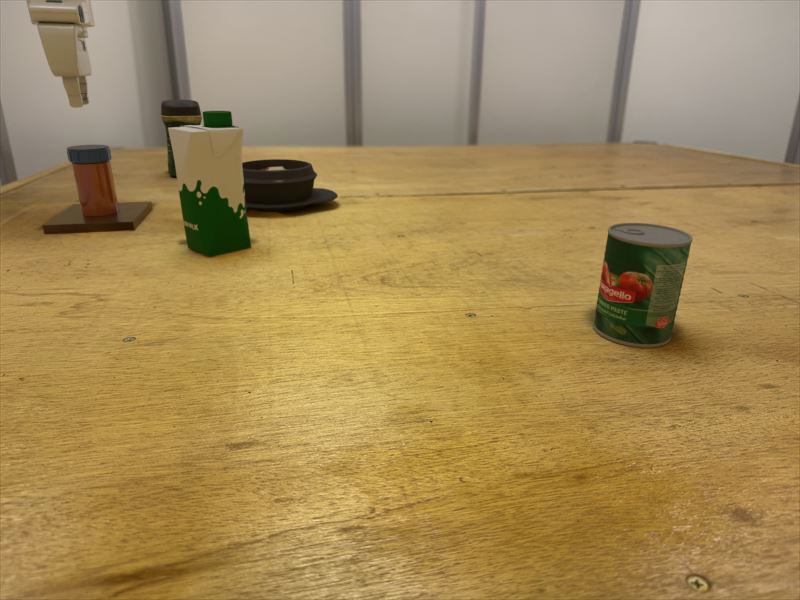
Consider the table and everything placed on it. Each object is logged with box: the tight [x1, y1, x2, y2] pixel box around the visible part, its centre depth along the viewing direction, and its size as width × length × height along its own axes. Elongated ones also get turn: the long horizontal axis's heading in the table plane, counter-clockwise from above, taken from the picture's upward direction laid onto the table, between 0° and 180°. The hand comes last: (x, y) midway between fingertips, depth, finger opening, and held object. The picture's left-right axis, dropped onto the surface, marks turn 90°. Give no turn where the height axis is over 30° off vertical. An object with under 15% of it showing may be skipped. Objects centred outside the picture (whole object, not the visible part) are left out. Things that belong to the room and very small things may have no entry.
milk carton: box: [168, 110, 252, 258], centre depth 82 cm, size 9×9×20 cm
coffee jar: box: [160, 99, 203, 178], centre depth 140 cm, size 10×8×19 cm
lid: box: [66, 144, 112, 163], centre depth 96 cm, size 6×6×2 cm
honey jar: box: [70, 160, 119, 216], centre depth 97 cm, size 6×6×11 cm
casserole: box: [242, 158, 339, 213], centre depth 110 cm, size 25×19×8 cm
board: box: [41, 200, 153, 235], centre depth 100 cm, size 14×16×2 cm
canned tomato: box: [592, 222, 694, 349], centre depth 57 cm, size 8×8×11 cm
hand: (80, 105), depth 93 cm, fingers open, 7 cm apart
